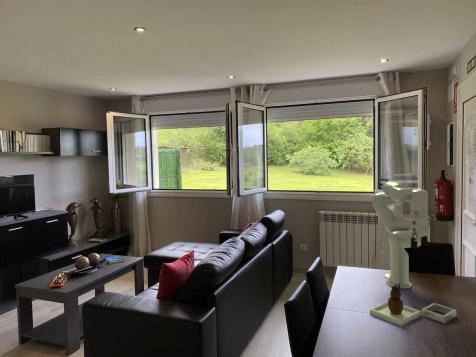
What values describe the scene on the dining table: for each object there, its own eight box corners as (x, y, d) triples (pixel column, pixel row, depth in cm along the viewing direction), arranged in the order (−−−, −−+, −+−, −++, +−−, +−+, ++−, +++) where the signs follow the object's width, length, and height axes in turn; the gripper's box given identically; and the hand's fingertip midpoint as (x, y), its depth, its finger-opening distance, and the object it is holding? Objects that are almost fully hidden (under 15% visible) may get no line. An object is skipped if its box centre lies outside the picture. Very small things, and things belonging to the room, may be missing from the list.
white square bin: (421, 315, 171) (421, 309, 171) (433, 308, 178) (433, 302, 177) (444, 323, 163) (444, 317, 162) (456, 316, 169) (456, 310, 169)
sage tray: (370, 313, 174) (370, 308, 174) (389, 305, 183) (389, 300, 183) (401, 326, 161) (401, 321, 161) (420, 316, 170) (420, 311, 170)
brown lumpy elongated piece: (405, 315, 170) (405, 283, 169) (395, 317, 168) (395, 285, 167) (395, 309, 176) (395, 279, 175) (385, 311, 174) (385, 280, 173)
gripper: (417, 216, 177) (417, 251, 178) (435, 212, 187) (435, 245, 188) (402, 215, 183) (402, 248, 184) (421, 211, 193) (420, 242, 194)
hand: (419, 246), depth 186 cm, fingers open, 9 cm apart
